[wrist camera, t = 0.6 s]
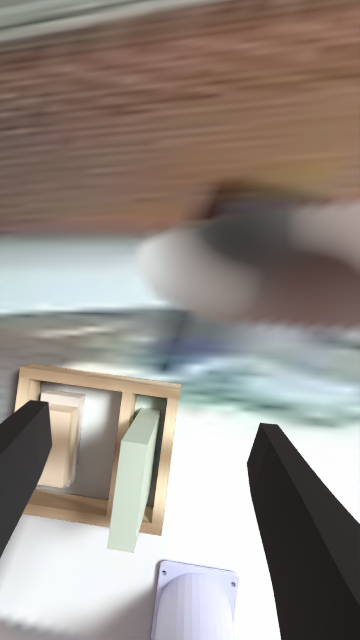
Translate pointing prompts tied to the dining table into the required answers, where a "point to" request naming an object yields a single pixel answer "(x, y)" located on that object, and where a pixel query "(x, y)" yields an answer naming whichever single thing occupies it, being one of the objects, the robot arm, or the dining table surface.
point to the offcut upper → (60, 446)
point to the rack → (101, 509)
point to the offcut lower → (77, 401)
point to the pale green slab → (133, 480)
